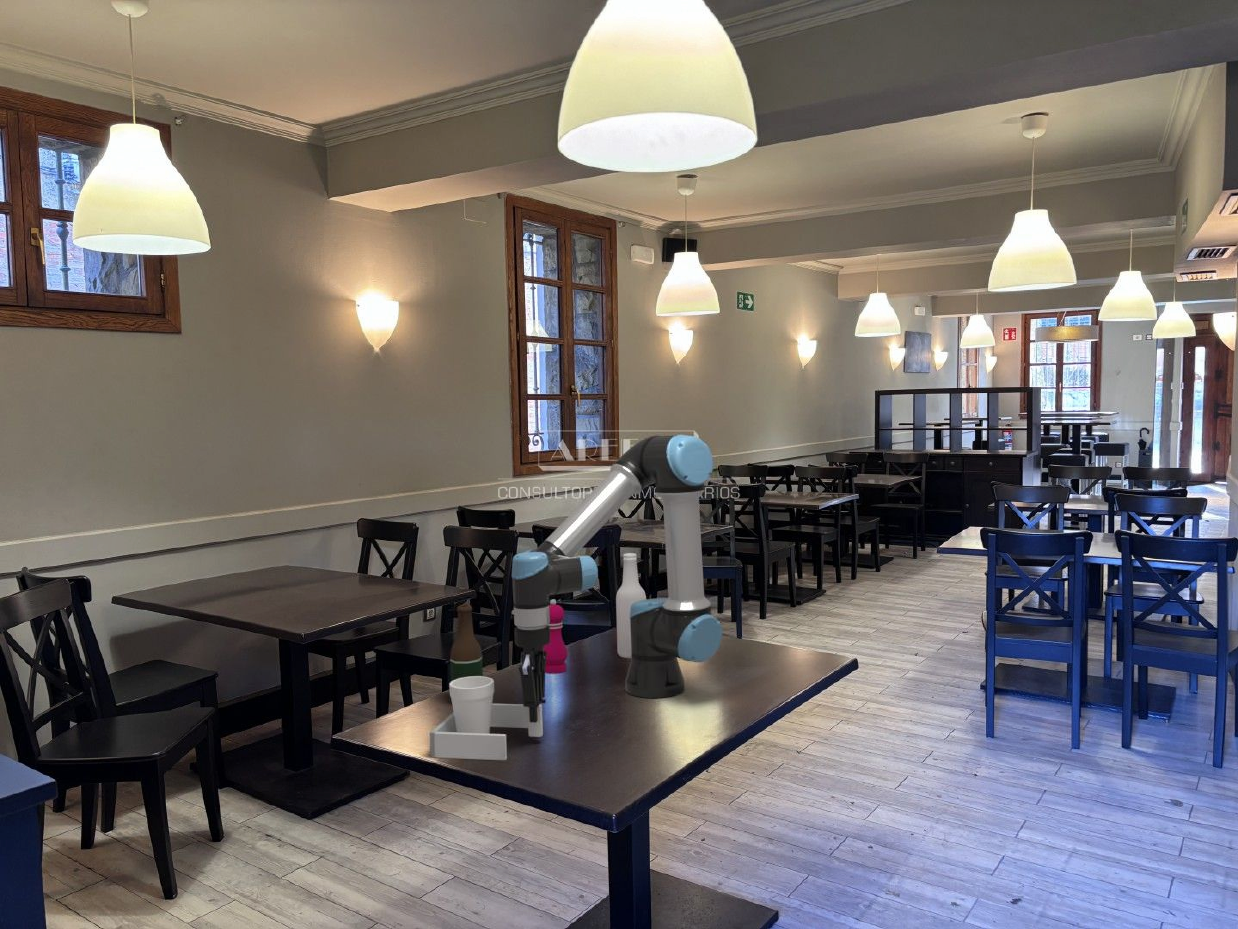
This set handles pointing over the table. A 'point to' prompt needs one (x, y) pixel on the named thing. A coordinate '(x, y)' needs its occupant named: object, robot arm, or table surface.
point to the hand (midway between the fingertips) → (535, 735)
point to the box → (477, 735)
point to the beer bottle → (465, 648)
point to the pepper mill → (555, 641)
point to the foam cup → (472, 703)
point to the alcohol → (627, 603)
